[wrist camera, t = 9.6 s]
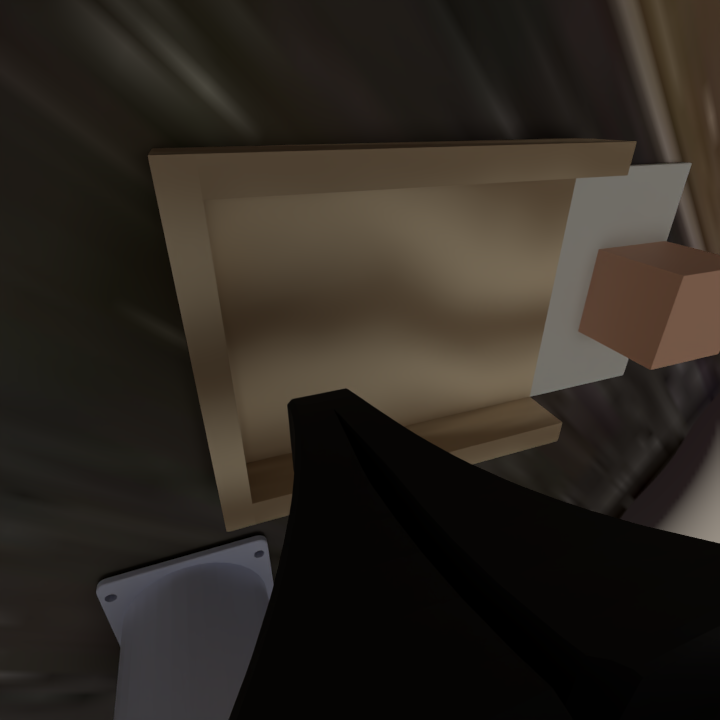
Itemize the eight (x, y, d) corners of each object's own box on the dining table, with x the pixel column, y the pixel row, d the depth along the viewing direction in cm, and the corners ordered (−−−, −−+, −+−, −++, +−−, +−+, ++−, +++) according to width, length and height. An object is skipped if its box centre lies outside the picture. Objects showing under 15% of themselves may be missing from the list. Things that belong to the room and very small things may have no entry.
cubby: (521, 410, 26) (557, 440, 24) (220, 483, 21) (226, 532, 19) (577, 138, 20) (636, 141, 17) (151, 148, 14) (147, 155, 12)
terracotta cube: (639, 319, 26) (718, 353, 22) (577, 331, 24) (650, 369, 21) (665, 241, 24) (756, 264, 20) (598, 249, 22) (683, 275, 19)
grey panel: (617, 371, 28) (623, 374, 28) (525, 393, 26) (529, 396, 26) (684, 162, 22) (691, 163, 22) (571, 167, 20) (578, 168, 20)
